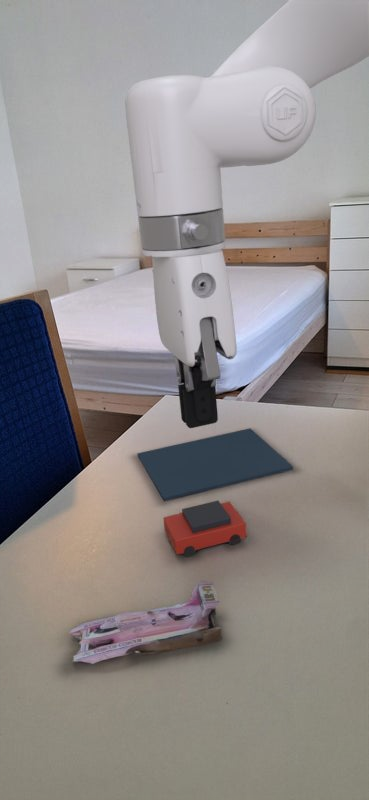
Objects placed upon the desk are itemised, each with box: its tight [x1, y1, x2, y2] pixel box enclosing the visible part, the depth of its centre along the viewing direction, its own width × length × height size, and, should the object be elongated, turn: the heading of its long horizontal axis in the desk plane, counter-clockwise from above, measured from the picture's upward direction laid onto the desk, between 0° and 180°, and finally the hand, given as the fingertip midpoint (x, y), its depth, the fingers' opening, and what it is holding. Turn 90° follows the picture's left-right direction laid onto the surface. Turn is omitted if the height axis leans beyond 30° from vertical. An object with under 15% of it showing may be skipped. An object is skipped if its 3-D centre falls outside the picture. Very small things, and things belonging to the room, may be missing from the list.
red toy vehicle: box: [163, 500, 248, 558], centre depth 66 cm, size 8×3×5 cm
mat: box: [137, 427, 294, 502], centre depth 83 cm, size 18×14×1 cm
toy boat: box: [69, 580, 222, 665], centre depth 52 cm, size 13×6×4 cm, turn 97°
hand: (199, 421), depth 60 cm, fingers closed
